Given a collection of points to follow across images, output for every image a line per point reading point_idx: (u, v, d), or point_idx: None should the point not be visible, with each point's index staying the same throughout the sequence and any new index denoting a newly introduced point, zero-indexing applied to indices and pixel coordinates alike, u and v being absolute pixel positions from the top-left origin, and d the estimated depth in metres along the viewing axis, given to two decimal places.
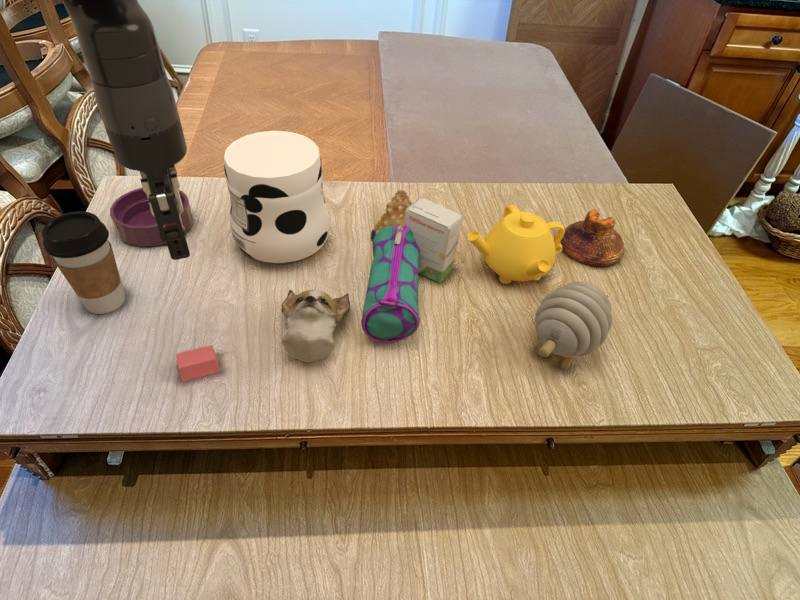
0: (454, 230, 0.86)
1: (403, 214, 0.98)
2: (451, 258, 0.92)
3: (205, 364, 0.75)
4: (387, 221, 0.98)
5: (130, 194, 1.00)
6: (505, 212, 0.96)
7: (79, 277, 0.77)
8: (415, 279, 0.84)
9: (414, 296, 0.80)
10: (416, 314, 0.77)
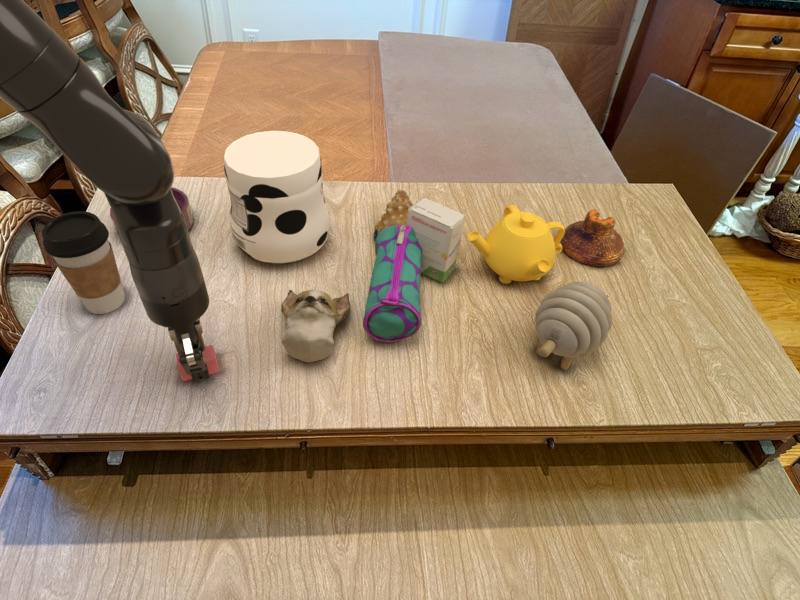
0: (456, 230, 0.86)
1: (403, 214, 0.98)
2: (453, 258, 0.92)
3: None
4: (387, 221, 0.98)
5: None
6: (505, 212, 0.96)
7: (79, 277, 0.77)
8: (417, 279, 0.84)
9: (416, 295, 0.81)
10: (418, 314, 0.78)
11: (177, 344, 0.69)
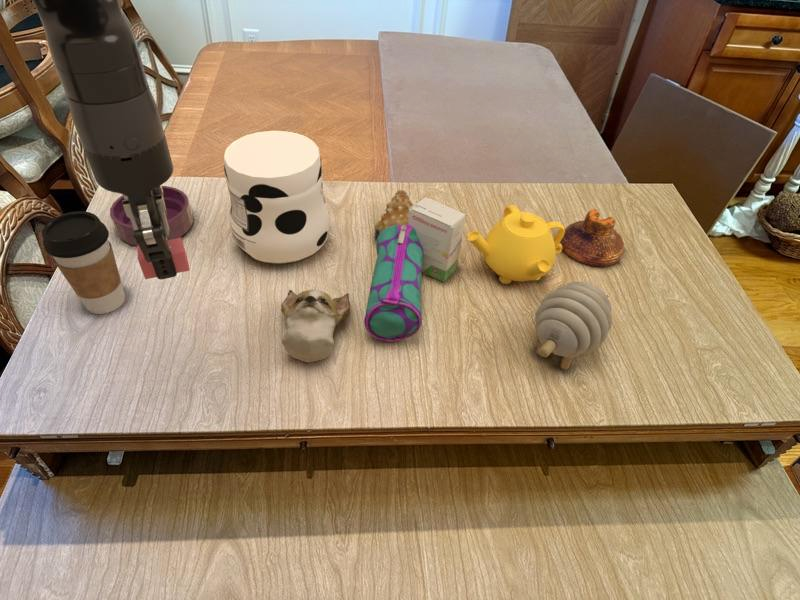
0: (457, 229, 0.87)
1: (403, 214, 0.98)
2: (455, 257, 0.92)
3: (172, 257, 0.63)
4: (387, 221, 0.98)
5: None
6: (505, 212, 0.96)
7: (79, 277, 0.77)
8: (418, 278, 0.84)
9: (416, 295, 0.81)
10: (418, 313, 0.78)
11: (134, 223, 0.57)
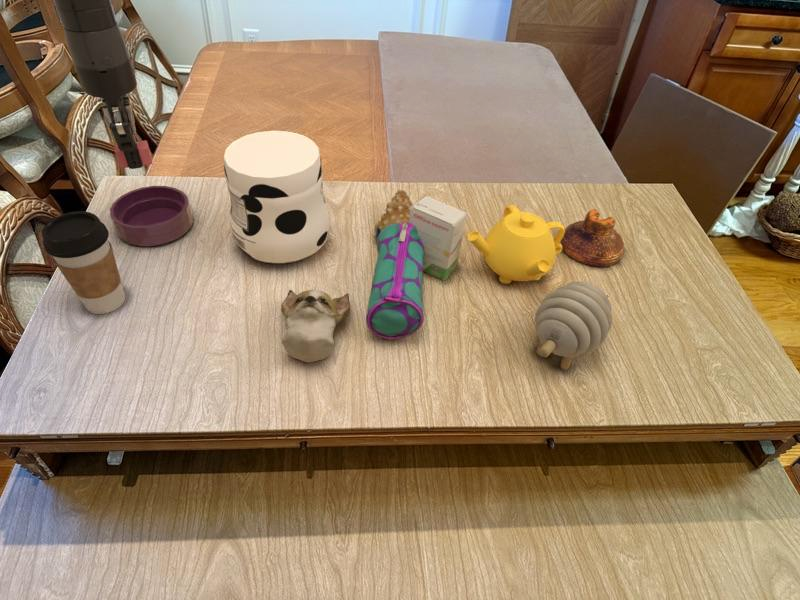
0: (458, 228, 0.87)
1: (403, 214, 0.98)
2: (455, 255, 0.92)
3: (139, 152, 0.89)
4: (387, 221, 0.98)
5: (130, 194, 1.00)
6: (505, 212, 0.96)
7: (79, 277, 0.77)
8: (420, 276, 0.84)
9: (418, 293, 0.81)
10: (420, 310, 0.78)
11: (110, 122, 0.83)
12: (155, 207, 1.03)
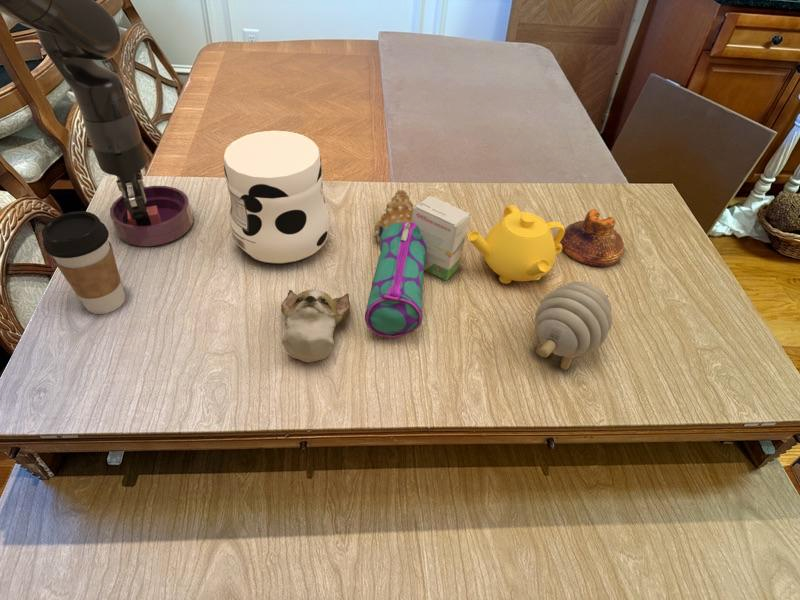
0: (460, 228, 0.87)
1: (403, 214, 0.98)
2: (457, 256, 0.92)
3: (150, 218, 0.97)
4: (387, 221, 0.98)
5: None
6: (505, 212, 0.96)
7: (79, 277, 0.77)
8: (420, 276, 0.84)
9: (418, 292, 0.81)
10: (419, 310, 0.78)
11: (124, 194, 0.91)
12: None
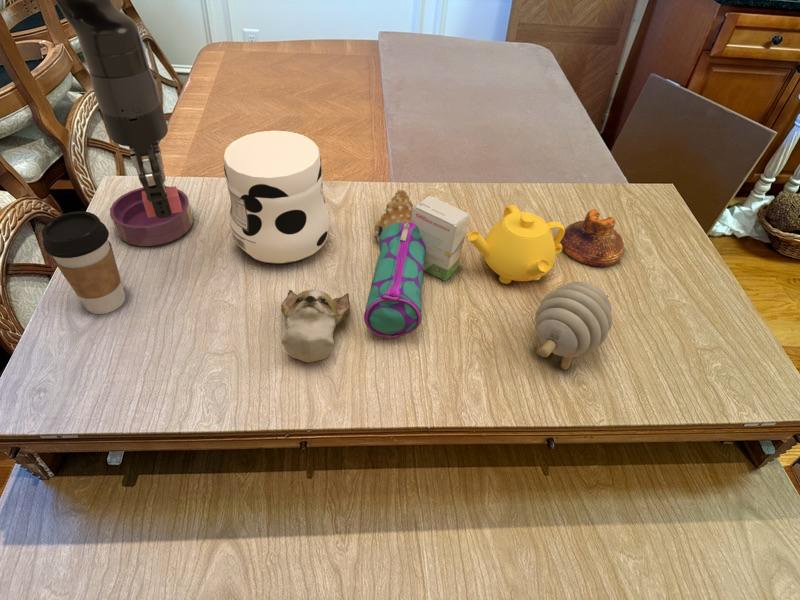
0: (460, 228, 0.87)
1: (403, 214, 0.98)
2: (457, 256, 0.92)
3: (169, 200, 0.81)
4: (387, 221, 0.98)
5: (130, 194, 1.00)
6: (505, 212, 0.96)
7: (79, 277, 0.77)
8: (419, 276, 0.84)
9: (417, 292, 0.81)
10: (418, 310, 0.78)
11: (139, 171, 0.76)
12: None
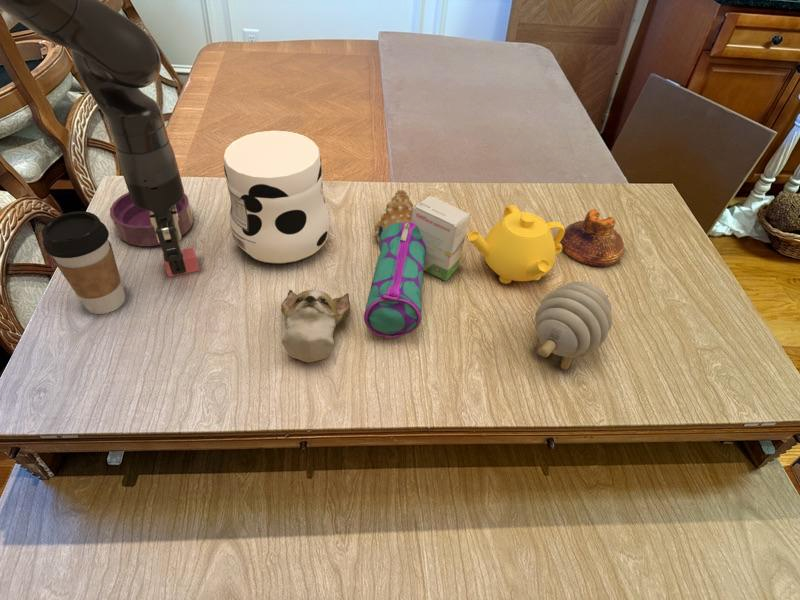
0: (460, 229, 0.87)
1: (403, 214, 0.98)
2: (457, 256, 0.92)
3: (187, 261, 0.90)
4: (387, 221, 0.98)
5: None
6: (505, 212, 0.96)
7: (79, 277, 0.77)
8: (419, 276, 0.84)
9: (417, 292, 0.81)
10: (418, 310, 0.78)
11: None
12: None
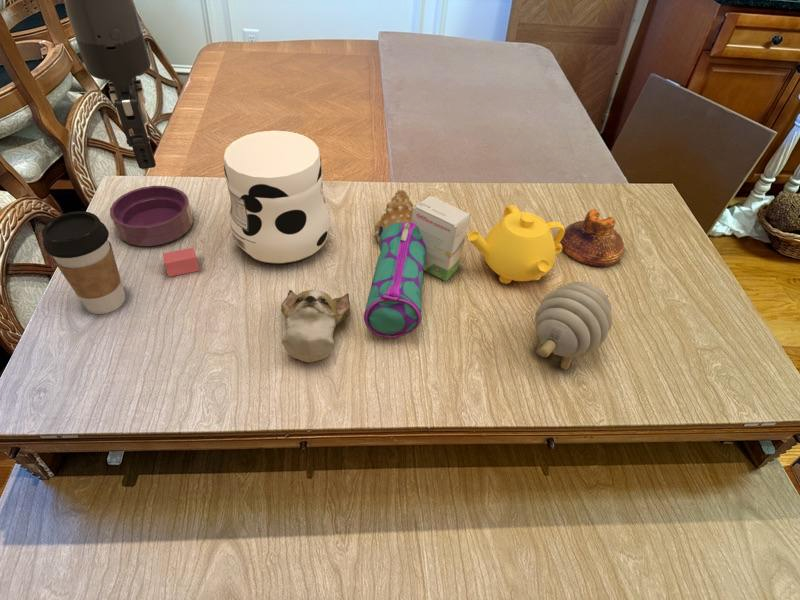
0: (460, 229, 0.87)
1: (403, 214, 0.98)
2: (457, 256, 0.92)
3: (187, 261, 0.90)
4: (387, 221, 0.98)
5: (130, 194, 1.00)
6: (505, 212, 0.96)
7: (79, 277, 0.77)
8: (420, 276, 0.84)
9: (417, 292, 0.81)
10: (418, 310, 0.78)
11: None
12: (155, 207, 1.03)
